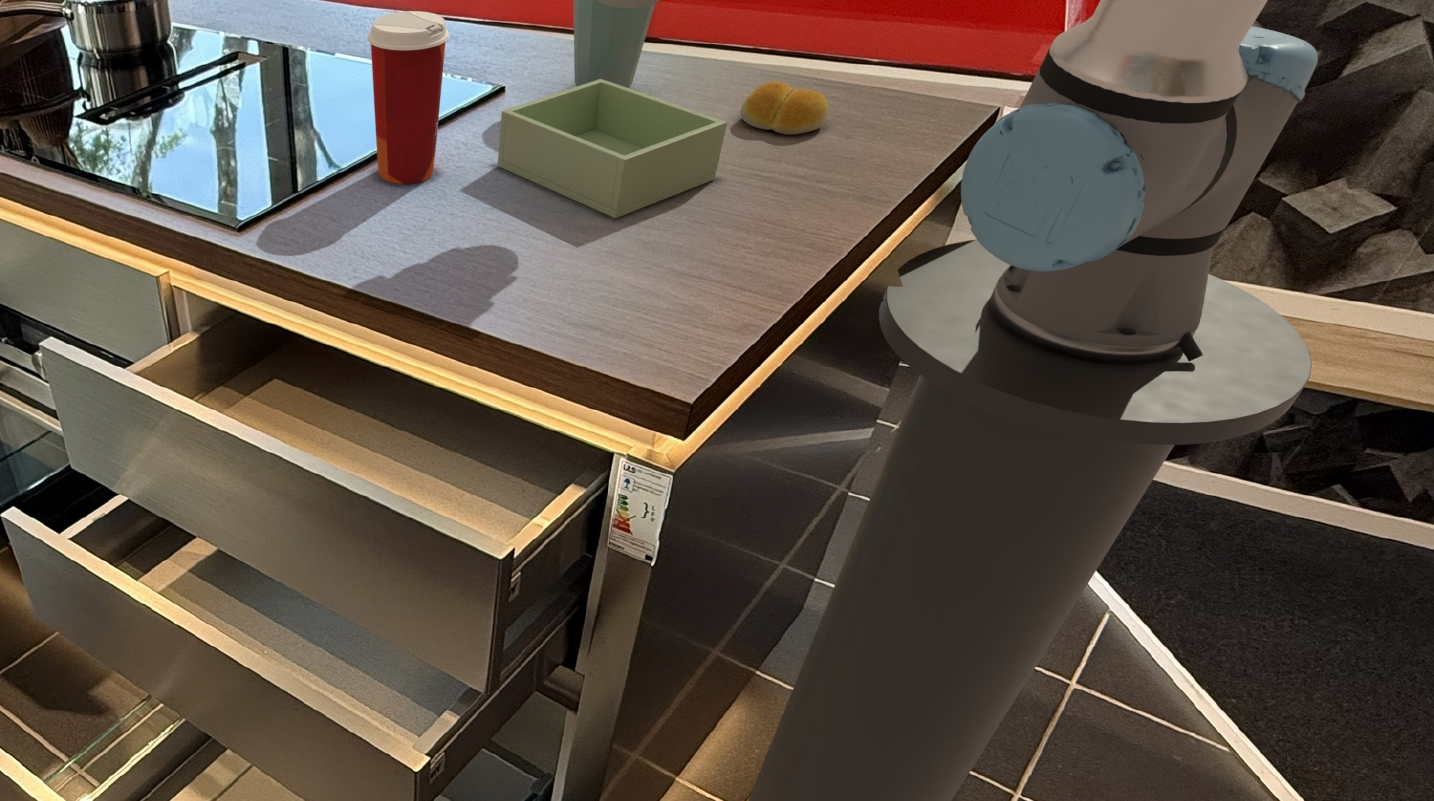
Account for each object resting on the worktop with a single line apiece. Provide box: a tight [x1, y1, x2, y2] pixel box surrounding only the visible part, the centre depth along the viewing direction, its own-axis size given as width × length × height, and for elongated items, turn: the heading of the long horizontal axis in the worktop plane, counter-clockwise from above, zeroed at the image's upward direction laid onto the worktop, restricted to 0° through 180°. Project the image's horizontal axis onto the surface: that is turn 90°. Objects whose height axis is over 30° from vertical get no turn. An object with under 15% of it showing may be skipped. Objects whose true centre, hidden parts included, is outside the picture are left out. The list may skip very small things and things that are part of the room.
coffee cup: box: [366, 10, 450, 185], centre depth 113 cm, size 8×8×15 cm
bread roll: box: [740, 80, 829, 136], centre depth 122 cm, size 8×9×4 cm
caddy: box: [497, 79, 728, 219], centre depth 114 cm, size 18×15×6 cm
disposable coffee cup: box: [573, 0, 656, 89], centre depth 128 cm, size 11×11×15 cm
